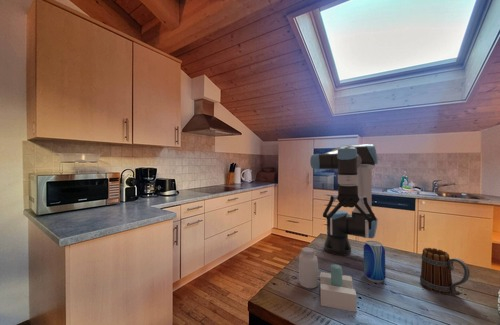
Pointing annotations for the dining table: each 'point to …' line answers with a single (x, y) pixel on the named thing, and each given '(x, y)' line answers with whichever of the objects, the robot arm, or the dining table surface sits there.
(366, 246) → the beer can
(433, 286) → the mug
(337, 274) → the peg
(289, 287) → the dining table surface
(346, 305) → the socket
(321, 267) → the dining table surface
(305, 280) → the pill bottle
